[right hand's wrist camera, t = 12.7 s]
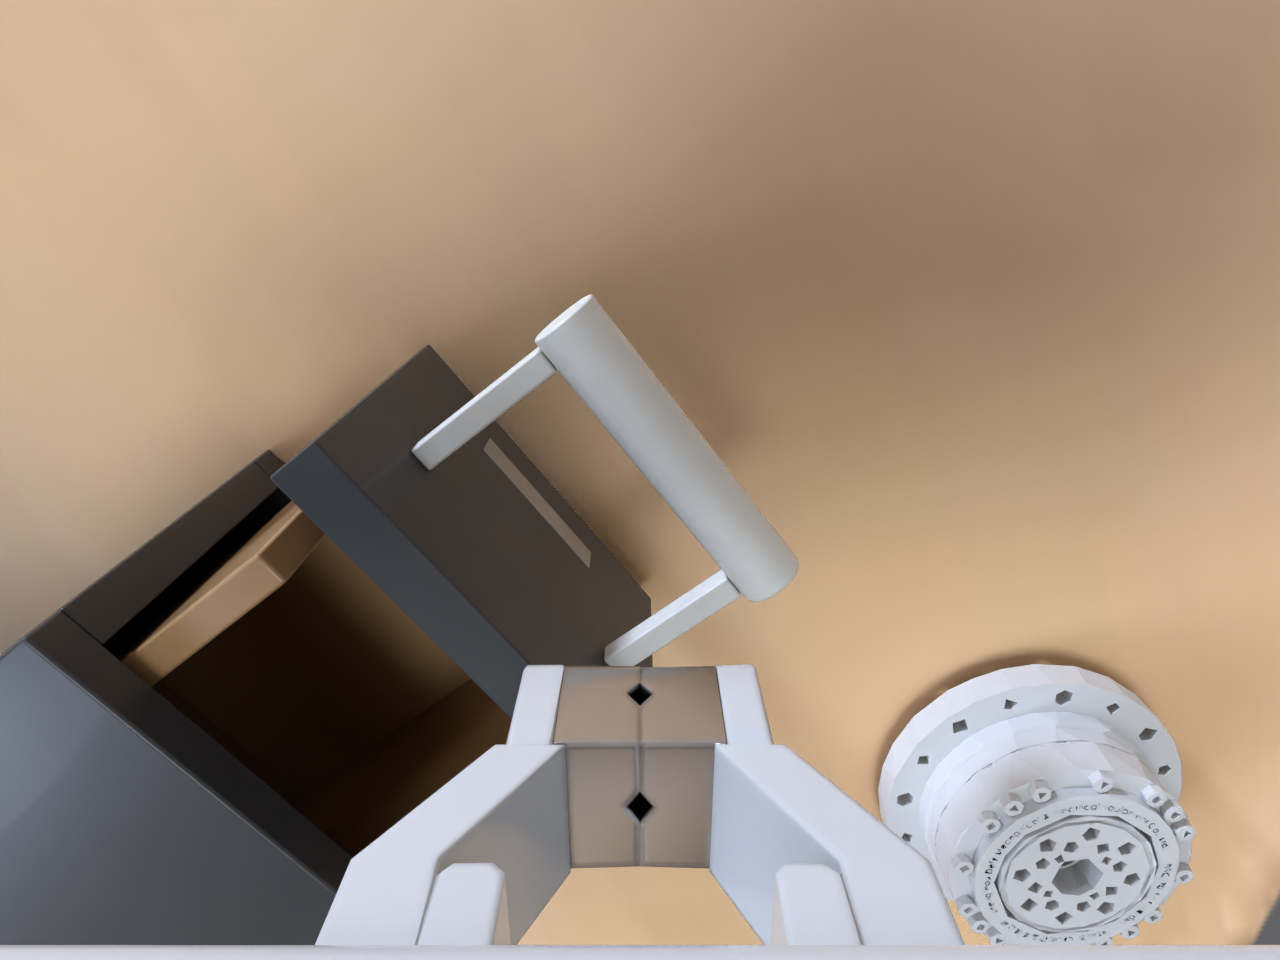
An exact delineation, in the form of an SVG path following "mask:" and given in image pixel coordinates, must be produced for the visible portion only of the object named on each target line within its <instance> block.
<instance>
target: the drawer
mask: <svg viewBox="0 0 1280 960" xmlns="http://www.w3.org/2000/svg"><path fill="white" fill-rule="evenodd" d="M535 343H536V344H537V346H538V347H537V348H536V349H535V350H534V351H532V352H531V353H530V354H529V355H527V356H526V357H525V358H524V359H522V360H521V361H520V362H519V363H517V364H516V365H515V366H513V367H512V368H511V369H510V370H508V371H507V372H506V373H505V374H503V375H502V376H501V377H500V378H498V379H497V380H496V381H495V382H493V383H492V384H491V385H489V386H488V387H487V388H486V389H484V390H483V391H482V392H481V393H479V394H478V395H477V396H476V397H474V396H473V394H472V393H471V392H470V391H469V390H468V389H467V388H466V386H465V385H464V384H463V383H462V382H461V381H460V379H459V378H458V377H457V376H456V375H455V374H454V373H453V371H452V370H451V369H450V368H449V367H448V366H447V365H446V363H445V362H444V361H443V360H442V359H441V358H440V357H439V355H438V354H437V353H436V352H435V351H434V350H433V349H432V347H431V346H430V345H426V346H425V347H424V348H423V349H422V350H420V351H419V352H418V353H417V354H416V355H414V356H413V357H412V358H411V359H410V360H408V361H407V362H406V363H405V364H403V365H402V366H401V367H400V368H399V369H397V370H396V371H395V372H394V373H393V374H391V375H390V376H389V377H388V378H387V379H386V380H384V381H383V382H382V383H381V384H380V385H378V386H377V387H376V388H375V389H374V390H372V391H371V392H370V393H369V394H368V395H366V396H365V397H364V398H363V399H362V400H361V401H359V402H358V403H357V404H356V405H355V406H353V407H352V408H351V409H350V410H349V411H347V412H346V413H345V414H344V415H343V416H342V417H340V418H339V419H338V420H337V421H336V422H334V423H333V424H332V425H331V426H330V427H328V428H327V429H326V430H325V431H324V432H322V433H321V434H320V435H319V436H318V437H317V438H315V439H314V440H313V441H312V442H311V443H309V444H308V445H307V446H306V447H305V448H303V449H302V450H301V451H300V452H299V453H298V454H296V455H295V456H294V457H293V458H292V459H290V460H289V461H288V462H287V463H286V464H284V465H283V466H282V467H281V468H280V469H278V470H277V471H276V472H275V473H274V474H273V475H271V477H270V479H271V481H272V482H273V483H274V484H276V485H277V486H278V487H279V488H280V489H281V490H282V491H283V492H284V493H285V494H286V495H287V496H288V497H289V498H290V499H291V500H292V501H291V502H290V503H288V504H287V505H286V506H285V507H283V508H282V509H281V510H280V511H278V512H277V513H276V514H275V515H273V516H272V517H271V518H270V519H268V520H267V521H266V522H265V523H264V524H262V525H261V526H260V527H259V528H257V529H256V530H255V531H254V532H252V533H251V534H250V535H249V536H247V537H246V538H245V539H244V540H242V541H241V542H240V543H239V544H238V545H236V546H235V547H234V548H233V549H231V550H230V551H229V552H228V553H226V554H225V555H224V556H223V557H221V558H220V559H219V560H218V561H216V562H215V563H214V564H213V565H212V566H210V567H209V568H208V569H207V570H205V571H204V572H203V573H202V574H200V575H199V576H198V577H197V578H195V579H194V580H193V581H192V582H190V583H189V584H188V585H187V586H185V587H184V588H183V589H182V590H181V591H179V592H178V593H177V594H176V595H174V596H173V597H172V598H171V599H169V600H168V601H167V602H166V603H164V604H163V605H162V606H161V607H159V608H158V609H157V610H156V611H155V612H153V613H152V614H151V615H150V616H148V617H147V618H146V619H145V620H143V621H142V622H141V623H140V624H138V625H137V626H136V627H135V628H133V629H132V630H131V631H130V632H129V633H127V634H126V635H125V636H124V637H122V638H121V639H120V640H119V641H117V642H116V643H115V644H114V645H113V646H112V647H111V648H110V649H109V650H108V651H109V652H111V653H112V654H113V655H114V656H115V657H116V658H118V659H119V660H120V661H121V662H122V663H124V664H125V665H126V666H127V667H128V668H130V669H131V670H132V671H133V672H134V673H135V674H137V675H138V676H139V677H140V678H141V679H143V680H144V681H145V682H146V683H147V684H148V685H150V686H151V687H152V688H153V689H154V690H156V691H157V692H158V693H159V694H160V695H162V696H163V697H164V698H165V699H166V700H167V701H169V702H170V703H171V704H172V705H173V706H175V707H176V708H177V709H178V710H179V711H180V712H182V713H183V714H184V715H185V716H186V717H188V718H189V719H190V720H191V721H192V722H194V723H195V724H196V725H197V726H198V727H199V728H201V729H202V730H203V731H204V732H205V733H207V734H208V735H209V736H210V737H211V738H213V739H214V740H215V741H216V742H217V743H218V744H220V745H221V746H222V747H223V748H224V749H226V750H227V751H228V752H229V753H230V754H231V755H233V756H234V757H235V758H236V759H237V760H239V761H240V762H241V763H242V764H243V765H245V766H246V767H247V768H248V769H249V770H250V771H252V772H253V773H254V774H255V775H256V776H258V777H259V778H260V779H261V780H262V781H263V782H265V783H266V784H267V785H268V786H269V787H271V788H272V789H273V790H274V791H275V792H277V793H278V794H279V795H280V796H281V797H282V798H284V799H285V800H286V801H287V802H288V803H290V804H291V805H292V806H293V807H294V808H296V809H297V810H298V811H299V812H300V813H301V814H303V815H304V816H305V817H306V818H307V819H309V820H310V821H311V822H312V823H313V824H314V825H316V826H317V827H318V828H319V829H320V830H322V831H323V832H324V833H325V834H326V835H328V836H329V837H330V838H331V839H332V840H333V841H335V842H336V843H337V844H338V845H339V846H341V847H342V848H343V849H344V850H345V851H346V852H348V853H349V854H350V855H351V856H352V857H355V856H356V855H357V854H358V853H360V852H361V851H362V850H364V849H365V848H366V847H367V846H369V845H370V844H371V843H372V842H374V841H375V840H376V839H377V838H379V837H380V836H381V835H382V834H384V833H385V832H386V831H387V830H389V829H390V828H391V827H392V826H394V825H395V824H396V823H397V822H399V821H400V820H401V819H402V818H404V817H405V816H406V815H407V814H409V813H410V812H411V811H412V810H414V809H415V808H416V807H417V806H419V805H420V804H421V803H422V802H424V801H425V800H426V799H428V798H429V797H430V796H431V795H433V794H434V793H435V792H436V791H438V790H439V789H440V788H441V787H443V786H444V785H445V784H446V783H448V782H449V781H450V780H451V779H453V778H454V777H455V776H456V775H458V774H459V773H460V772H461V771H463V770H464V769H465V768H466V767H468V766H469V765H470V764H471V763H473V762H474V761H475V760H476V759H478V758H479V757H480V756H481V755H483V754H484V753H485V752H486V751H488V750H489V749H490V748H492V747H493V746H494V745H506V743H507V739H508V734H509V730H510V726H511V722H512V717H513V713H514V709H515V705H516V700H517V696H518V692H519V687H520V683H521V679H522V675H523V671H524V669H525V668H526V667H527V665H564V666H566V665H590V666H638V667H640V668H645V667H652V654H653V653H655V652H656V651H658V650H659V649H661V648H662V647H664V646H665V645H667V644H668V643H670V642H672V641H673V640H675V639H676V638H678V637H679V636H681V635H682V634H684V633H685V632H687V631H688V630H690V629H691V628H693V627H694V626H696V625H698V624H699V623H701V622H702V621H704V620H705V619H707V618H708V617H710V616H711V615H713V614H714V613H716V612H717V611H719V610H721V609H722V608H724V607H725V606H727V605H728V604H730V603H731V602H733V601H734V600H736V599H737V598H739V597H740V592H741V594H742V595H743V596H744V597H745V598H746V599H747V600H749V601H752V602H758V601H763V600H766V599H768V598H770V597H772V596H774V595H776V594H777V593H779V592H780V591H781V590H783V589H784V588H785V587H786V586H787V585H788V584H789V583H790V582H791V581H792V579H793V578H794V576H795V575H796V573H797V571H798V567H799V562H798V558H797V557H796V555H795V554H794V553H793V552H792V550H791V549H790V548H789V546H788V545H787V544H786V543H785V541H784V540H783V539H782V537H781V536H780V535H779V534H778V532H777V531H776V530H775V528H774V527H773V526H772V525H771V523H770V522H769V521H768V519H767V518H766V517H765V516H764V514H763V513H762V512H761V511H760V509H759V508H758V507H757V505H756V504H755V503H754V502H753V500H752V499H751V498H750V496H749V495H748V494H747V493H746V491H745V490H744V489H743V487H742V486H741V485H740V484H739V482H738V481H737V480H736V478H735V477H734V476H733V475H732V473H731V472H730V471H729V469H728V468H727V467H726V466H725V464H724V463H723V462H722V460H721V459H720V458H719V457H718V455H717V454H716V453H715V451H714V450H713V449H712V448H711V446H710V445H709V444H708V442H707V441H706V440H705V439H704V437H703V436H702V435H701V433H700V432H699V431H698V430H697V428H696V427H695V426H694V425H693V423H692V422H691V421H690V419H689V418H688V417H687V416H686V414H685V413H684V412H683V410H682V409H681V408H680V407H679V405H678V404H677V403H676V401H675V400H674V399H673V398H672V396H671V395H670V394H669V392H668V391H667V390H666V389H665V387H664V386H663V385H662V383H661V382H660V381H659V380H658V378H657V377H656V376H655V374H654V373H653V372H652V371H651V369H650V368H649V367H648V365H647V364H646V363H645V362H644V360H643V359H642V358H641V356H640V355H639V354H638V353H637V351H636V350H635V349H634V348H633V346H632V345H631V344H630V342H629V341H628V340H627V339H626V337H625V336H624V335H623V333H622V332H621V331H620V330H619V328H618V327H617V326H616V324H615V323H614V322H613V321H612V319H611V318H610V317H609V315H608V314H607V313H606V312H605V310H604V309H603V308H602V306H601V305H600V304H599V303H598V301H597V300H596V299H595V297H594V296H593V295H591V294H590V295H587V296H585V297H584V298H582V299H580V300H579V301H578V302H576V303H575V304H574V305H572V306H571V307H570V308H568V309H567V310H566V311H564V312H563V313H562V314H561V315H560V316H558V317H557V318H556V319H555V320H554V321H552V322H551V323H550V324H549V325H548V326H547V327H546V328H545V329H544V330H542V331H541V332H540V333H539V335H538V336H537V337H536V339H535ZM556 370H558V371H559V372H560V374H561V375H562V376H563V377H564V378H565V380H566V381H567V382H568V383H569V385H570V386H571V387H572V388H573V389H574V391H575V392H576V393H577V394H578V396H579V397H580V398H581V399H582V400H583V402H584V403H585V404H586V405H587V406H588V408H589V409H590V410H591V411H592V413H593V414H594V415H595V416H596V417H597V419H598V420H599V421H600V422H601V423H602V425H603V426H604V427H605V428H606V430H607V431H608V432H609V433H610V434H611V436H612V437H613V438H614V439H615V440H616V442H617V443H618V444H619V445H620V447H621V448H622V449H623V450H624V451H625V453H626V454H627V455H628V456H629V458H630V459H631V460H632V461H633V462H634V464H635V465H636V466H637V467H638V468H639V470H640V471H641V472H642V473H643V475H644V476H645V477H646V478H647V479H648V481H649V482H650V483H651V484H652V485H653V487H654V488H655V489H656V490H657V492H658V493H659V494H660V495H661V496H662V498H663V499H664V500H665V501H666V503H667V504H668V505H669V506H670V507H671V509H672V510H673V511H674V512H675V513H676V515H677V516H678V517H679V518H680V520H681V521H682V522H683V523H684V524H685V526H686V527H687V528H688V529H689V530H690V532H691V533H692V534H693V535H694V537H695V538H696V539H697V540H698V541H699V543H700V544H701V545H702V546H703V547H704V549H705V550H706V551H707V552H708V554H709V555H710V556H711V557H712V558H713V560H714V561H715V562H716V563H717V565H718V566H719V567H720V568H721V570H720V571H718V572H717V573H715V574H714V575H712V576H711V577H709V578H708V579H706V580H705V581H703V582H702V583H700V584H699V585H697V586H696V587H694V588H693V589H691V590H690V591H688V592H687V593H685V594H684V595H682V596H681V597H679V598H678V599H676V600H675V601H673V602H672V603H670V604H669V605H667V606H666V607H664V608H663V609H661V610H660V611H658V612H657V613H655V614H654V615H652V616H651V599H650V597H649V596H648V595H647V594H646V593H645V592H644V591H643V589H642V588H641V587H640V586H639V585H638V584H637V582H636V581H635V580H634V579H633V578H632V577H631V576H630V574H629V573H628V572H627V571H626V570H625V569H624V568H623V566H622V565H621V564H620V563H619V562H618V561H617V560H616V558H615V557H614V556H613V555H612V554H611V553H610V552H609V550H608V549H607V548H606V547H605V546H604V545H603V543H602V542H601V541H600V540H599V539H598V538H597V537H596V535H595V534H594V533H593V532H592V531H591V530H590V529H589V527H588V526H587V525H586V524H585V523H584V522H583V521H582V519H581V518H580V517H579V516H578V515H577V514H576V513H575V511H574V510H573V509H572V508H571V507H570V506H569V504H568V503H567V502H566V501H565V500H564V499H563V498H562V496H561V495H560V494H559V493H558V492H557V491H556V490H555V488H554V487H553V486H552V485H551V484H550V483H549V482H548V480H547V479H546V478H545V477H544V476H543V475H542V474H541V472H540V471H539V470H538V469H537V468H536V467H535V465H534V464H533V463H532V462H531V461H530V460H529V459H528V457H527V456H526V455H525V454H524V453H523V452H522V451H521V449H520V448H519V447H518V446H517V445H516V444H515V443H514V441H513V440H512V439H511V438H510V437H509V436H508V435H507V433H506V432H505V431H504V430H503V429H502V428H501V427H500V425H499V424H498V423H497V422H496V421H495V420H496V419H497V418H498V417H500V416H501V415H502V414H504V413H505V412H506V411H507V410H509V409H510V408H511V407H513V406H514V405H515V404H516V403H518V402H519V401H520V400H522V399H523V398H524V397H525V396H527V395H528V394H529V393H531V392H532V391H533V390H534V389H536V388H537V387H538V386H540V385H541V384H542V383H543V382H545V381H546V380H547V379H549V378H550V377H551V376H552V375H554V374H555V372H556ZM739 591H740V592H739Z"/></svg>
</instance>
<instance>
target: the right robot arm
mask: <svg viewBox="0 0 1280 960" xmlns="http://www.w3.org/2000/svg"><path fill="white" fill-rule="evenodd" d="M632 866H646V867H681V868H710V873H711V874H712V875H713V877H714V878H715V879H716V881H717V882H718V883H719V885H720V886H721V887H722V889H723V890H724V892H725V893H726V894H727V896H728V897H729V898H730V900H731V901H732V902H733V904H734V905H735V906H736V908H737V909H738V910H739V912H740V913H741V915H742V916H743V917H744V919H745V920H746V921H747V923H748V924H749V925H750V927H751V928H752V929H753V931H754V932H755V933H756V935H757V936H758V937H759V939H760V940H761V942H762V943H763V944H764V945H517V943H518V942H519V941H520V939H521V938H522V937H523V935H524V934H525V933H526V931H527V930H528V929H529V927H530V926H531V925H532V923H533V922H534V921H535V919H536V918H537V917H538V915H539V914H540V912H541V911H542V910H543V908H544V907H545V906H546V904H547V903H548V902H549V900H550V899H551V898H552V896H553V895H554V894H555V892H556V891H557V890H558V888H559V887H560V886H561V884H562V883H563V882H564V880H565V879H566V878H567V876H568V875H569V874H570V868H598V867H632ZM0 960H1280V945H965V943H964V941H963V939H962V936H961V934H960V931H959V929H958V927H957V924H956V922H955V919H954V917H953V915H952V912H951V910H950V907H949V905H948V903H947V900H946V898H945V895H944V893H943V891H942V888H941V886H940V884H939V881H938V879H937V876H936V874H935V872H934V869H933V867H932V864H931V862H930V860H928V859H927V858H926V857H925V856H923V855H922V854H921V853H920V852H918V851H917V850H916V849H915V848H913V847H912V846H911V845H910V844H908V843H907V842H906V841H905V840H903V839H902V838H901V837H900V836H898V835H897V834H896V833H895V832H893V831H892V830H891V829H890V828H888V827H887V826H886V825H885V824H883V823H882V822H881V821H880V820H878V819H877V818H876V817H875V816H873V815H872V814H871V813H870V812H868V811H867V810H866V809H865V808H863V807H862V806H861V805H860V804H858V803H857V802H856V801H855V800H853V799H852V798H851V797H850V796H848V795H847V794H846V793H845V792H843V791H842V790H841V789H840V788H838V787H837V786H836V785H835V784H834V783H832V782H831V781H830V780H829V779H827V778H826V777H825V776H824V775H822V774H821V773H820V772H819V771H817V770H816V769H815V768H814V767H812V766H811V765H810V764H809V763H807V762H806V761H805V760H804V759H802V758H801V757H800V756H799V755H797V754H796V753H795V752H794V751H792V750H791V749H790V748H789V747H787V746H786V745H774V743H773V739H772V735H771V730H770V726H769V722H768V718H767V714H766V709H765V705H764V701H763V697H762V692H761V688H760V684H759V680H758V675H757V671H756V668H755V667H754V666H753V665H752V664H746V665H718V666H701V667H645V668H640V667H638V666H590V665H566V666H564V665H527V667H526V668H525V669H524V671H523V675H522V679H521V683H520V687H519V692H518V696H517V700H516V705H515V709H514V713H513V717H512V722H511V726H510V730H509V734H508V739H507V743H506V745H494V746H493V747H492V748H490V749H489V750H488V751H486V752H485V753H484V754H483V755H481V756H480V757H479V758H478V759H476V760H475V761H474V762H473V763H471V764H470V765H469V766H468V767H466V768H465V769H464V770H463V771H461V772H460V773H459V774H458V775H456V776H455V777H454V778H453V779H451V780H450V781H449V782H448V783H446V784H445V785H444V786H443V787H441V788H440V789H439V790H438V791H436V792H435V793H434V794H433V795H431V796H430V797H429V798H428V799H426V800H425V801H424V802H422V803H421V804H420V805H419V806H417V807H416V808H415V809H414V810H412V811H411V812H410V813H409V814H407V815H406V816H405V817H404V818H402V819H401V820H400V821H399V822H397V823H396V824H395V825H394V826H392V827H391V828H390V829H389V830H387V831H386V832H385V833H384V834H382V835H381V836H380V837H379V838H377V839H376V840H375V841H374V842H372V843H371V844H370V845H369V846H367V847H366V848H365V849H364V850H362V851H361V852H360V853H358V854H357V855H356V856H355V857H353V858H352V859H351V861H350V863H349V865H348V868H347V870H346V872H345V875H344V877H343V880H342V882H341V884H340V887H339V889H338V891H337V894H336V896H335V898H334V901H333V903H332V905H331V908H330V910H329V913H328V915H327V917H326V920H325V922H324V924H323V927H322V929H321V931H320V934H319V936H318V938H317V941H316V943H315V945H0Z"/></svg>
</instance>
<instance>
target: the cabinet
mask: <svg viewBox="0 0 1280 960" xmlns="http://www.w3.org/2000/svg"><path fill="white" fill-rule="evenodd" d="M282 466H283V464H282V463H281V462H280V460H279V459H278V458H277V457H276V456H275V455H274V454H273V453H272V452H271V451H269V450H267V451H265V452H264V453H263V454H262V455H260V456H259V457H258V458H256V459H255V460H254V461H252V462H251V463H250V464H248V465H247V466H246V467H245V468H243V469H242V470H241V471H239V472H238V473H237V474H235V475H234V476H233V477H231V478H230V479H229V480H227V481H226V482H225V483H224V484H222V485H221V486H220V487H218V488H217V489H216V490H214V491H213V492H212V493H210V494H209V495H208V496H207V497H205V498H204V499H203V500H201V501H200V502H199V503H197V504H196V505H195V506H193V507H192V508H191V509H189V510H188V511H187V512H186V513H184V514H183V515H182V516H180V517H179V518H178V519H176V520H175V521H174V522H172V523H171V524H170V525H169V526H167V527H166V528H165V529H163V530H162V531H161V532H159V533H158V534H157V535H155V536H154V537H153V538H152V539H150V540H149V541H148V542H146V543H145V544H144V545H142V546H141V547H140V548H138V549H137V550H136V551H134V552H133V553H132V554H131V555H129V556H128V557H127V558H125V559H124V560H123V561H121V562H120V563H119V564H117V565H116V566H115V567H114V568H112V569H111V570H110V571H108V572H107V573H106V574H104V575H103V576H102V577H100V578H99V579H98V580H96V581H95V582H94V583H93V584H91V585H90V586H89V587H87V588H86V589H85V590H83V591H82V592H81V593H79V594H78V595H77V596H76V597H74V598H73V599H72V600H70V601H69V602H68V603H66V604H65V605H64V606H62V607H61V608H60V609H59V610H58V611H56V612H55V613H53V614H52V615H51V616H49V617H48V618H47V619H46V620H44V621H43V622H42V623H40V624H39V625H38V626H36V627H35V628H34V629H32V630H31V631H30V632H28V633H27V634H26V635H25V636H23V637H22V638H21V639H20V640H18V641H17V642H16V643H15V644H14V645H13V646H11V647H10V648H9V649H8V650H7V651H5V652H4V653H3V654H2V655H1V656H0V945H315V943H316V941H317V938H318V936H319V934H320V931H321V929H322V927H323V924H324V922H325V920H326V917H327V915H328V913H329V910H330V908H331V905H332V903H333V901H334V898H335V896H336V894H337V891H338V889H339V887H340V884H341V882H342V880H343V877H344V875H345V872H346V870H347V868H348V865H349V863H350V861H351V859H352V858H353V857H352V856H351V855H350V854H349V853H348V852H346V851H345V850H344V849H343V848H342V847H341V846H339V845H338V844H337V843H336V842H335V841H333V840H332V839H331V838H330V837H329V836H328V835H326V834H325V833H324V832H323V831H322V830H320V829H319V828H318V827H317V826H316V825H314V824H313V823H312V822H311V821H310V820H309V819H307V818H306V817H305V816H304V815H303V814H301V813H300V812H299V811H298V810H297V809H296V808H294V807H293V806H292V805H291V804H290V803H288V802H287V801H286V800H285V799H284V798H282V797H281V796H280V795H279V794H278V793H277V792H275V791H274V790H273V789H272V788H271V787H269V786H268V785H267V784H266V783H265V782H263V781H262V780H261V779H260V778H259V777H258V776H256V775H255V774H254V773H253V772H252V771H250V770H249V769H248V768H247V767H246V766H245V765H243V764H242V763H241V762H240V761H239V760H237V759H236V758H235V757H234V756H233V755H231V754H230V753H229V752H228V751H227V750H226V749H224V748H223V747H222V746H221V745H220V744H218V743H217V742H216V741H215V740H214V739H213V738H211V737H210V736H209V735H208V734H207V733H205V732H204V731H203V730H202V729H201V728H199V727H198V726H197V725H196V724H195V723H194V722H192V721H191V720H190V719H189V718H188V717H186V716H185V715H184V714H183V713H182V712H180V711H179V710H178V709H177V708H176V707H175V706H173V705H172V704H171V703H170V702H169V701H167V700H166V699H165V698H164V697H163V696H162V695H160V694H159V693H158V692H157V691H156V690H154V689H153V688H152V687H151V686H150V685H148V684H147V683H146V682H145V681H144V680H143V679H141V678H140V677H139V676H138V675H137V674H135V673H134V672H133V671H132V670H131V669H130V668H128V667H127V666H126V665H125V664H124V663H122V662H121V661H120V660H119V659H118V658H116V657H115V656H114V655H113V654H112V653H111V652H109V651H108V650H109V649H110V648H111V647H112V646H113V645H114V644H115V643H116V642H117V641H119V640H120V639H121V638H122V637H124V636H125V635H126V634H127V633H129V632H130V631H131V630H132V629H133V628H135V627H136V626H137V625H138V624H140V623H141V622H142V621H143V620H145V619H146V618H147V617H148V616H150V615H151V614H152V613H153V612H155V611H156V610H157V609H158V608H159V607H161V606H162V605H163V604H164V603H166V602H167V601H168V600H169V599H171V598H172V597H173V596H174V595H176V594H177V593H178V592H179V591H181V590H182V589H183V588H184V587H185V586H187V585H188V584H189V583H190V582H192V581H193V580H194V579H195V578H197V577H198V576H199V575H200V574H202V573H203V572H204V571H205V570H207V569H208V568H209V567H210V566H212V565H213V564H214V563H215V562H216V561H218V560H219V559H220V558H221V557H223V556H224V555H225V554H226V553H228V552H229V551H230V550H231V549H233V548H234V547H235V546H236V545H238V544H239V543H240V542H241V541H242V540H244V539H245V538H246V537H247V536H249V535H250V534H251V533H252V532H254V531H255V530H256V529H257V528H259V527H260V526H261V525H262V524H264V523H265V522H266V521H267V520H268V519H270V518H271V517H272V516H273V515H275V514H276V513H277V512H278V511H280V510H281V509H282V508H283V507H285V506H286V505H287V504H288V503H290V502H291V501H292V500H291V499H290V498H289V497H288V496H287V495H286V494H285V493H284V492H283V491H282V490H281V489H280V488H279V487H278V486H277V485H276V484H274V483H273V482H272V481H271V479H270V477H271V475H273V474H274V473H275V472H276V471H277V470H278V469H280V468H281V467H282Z"/></svg>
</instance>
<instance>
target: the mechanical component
mask: <svg viewBox="0 0 1280 960" xmlns="http://www.w3.org/2000/svg"><path fill="white" fill-rule="evenodd" d="M1181 789H1182V770H1181V761H1180V758H1179V755H1178V752H1177V748H1176V745H1175V742H1174V740H1173V739H1172V738H1171V736H1170V735H1169V733H1168V732H1167V731H1166V729H1165V728H1164V726H1163V725H1162V723H1161V722H1160V721H1159V719H1158V718H1157V716H1156V715H1155V714H1154V713H1153V712H1152V711H1151V710H1150V709H1149V708H1148V707H1147V706H1146V705H1145V704H1144V703H1143V702H1142V701H1141V700H1140V699H1139V697H1138V696H1137V695H1136V694H1134V693H1132V692H1131V691H1129V690H1128V689H1126V688H1125V687H1123V686H1122V685H1120V684H1119V683H1117V682H1115V681H1114V680H1112V679H1111V678H1109V677H1107V676H1104V675H1101V674H1098V673H1095V672H1092V671H1089V670H1085V669H1082V668H1079V667H1076V666H1062V665H1043V664H1032V665H1025V666H1018V667H1012V668H1005V669H1000V670H997V671H994V672H991V673H988V674H985V675H982V676H979V677H976V678H973V679H971V680H969V681H966V682H964V683H962V684H960V685H958V686H956V687H954V688H952V689H950V690H948V691H946V692H945V693H944V694H942V695H941V696H940V697H938V698H937V699H936V700H934V701H933V702H932V703H930V704H929V705H928V706H927V707H925V708H924V709H923V710H921V711H920V712H919V713H917V714H916V715H915V716H914V717H913V718H912V719H911V721H910V722H909V723H908V725H907V726H906V727H905V729H904V730H903V731H902V732H901V734H900V735H899V736H898V738H897V739H896V740H895V742H894V743H893V745H892V747H891V749H890V751H889V753H888V756H887V758H886V760H885V762H884V764H883V767H882V772H881V777H880V783H879V788H878V794H879V805H880V814H881V817H882V820H883V823H884V824H885V825H886V826H887V827H888V828H890V829H891V830H892V831H893V832H895V833H896V834H897V835H898V836H900V837H901V838H902V839H903V840H905V841H906V842H907V843H908V844H910V845H911V846H912V847H913V848H915V849H916V850H917V851H918V852H920V853H921V854H922V855H923V856H925V857H926V858H927V859H928V860H930V862H931V864H932V867H933V869H934V872H935V874H936V876H937V879H938V881H939V884H940V886H941V888H942V891H943V893H944V895H945V898H946V899H947V900H950V901H953V902H955V904H956V906H957V909H958V912H959V914H960V915H962V916H963V917H964V918H965V919H967V920H968V924H969V925H970V927H971V929H972V930H973V932H974V933H978V934H980V933H983V934H985V935H987V937H988V939H989V942H990V944H991V945H1004V944H1006V945H1088V944H1091V943H1093V944H1094V945H1113V940H1112V938H1111V937H1113V936H1115V935H1118V934H1121V936H1122V937H1123V938H1126V939H1132V938H1135V937H1136V936H1138V935H1139V931H1140V929H1139V927H1138V926H1137V924H1139V923H1140V922H1141V921H1142V920H1145V921H1146V922H1147V923H1157V922H1158V921H1160V920H1161V919H1162V917H1163V915H1162V912H1161V911H1160V909H1159V907H1161V906H1162V905H1163V904H1165V902H1166V901H1167V900H1168V898H1169V897H1170V896H1171V894H1172V893H1173V891H1174V890H1175V889H1176V887H1177V886H1178V885H1179V883H1181V884H1185V883H1187V882H1189V881H1191V880H1192V879H1193V873H1192V871H1191V869H1190V867H1189V866H1188V864H1189V861H1190V859H1191V849H1192V838H1193V837H1194V835H1195V834H1196V831H1195V830H1194V828H1193V827H1192V826H1191V824H1190V823H1189V821H1188V816H1187V814H1186V813H1185V812H1184V810H1183V808H1182V807H1181V805H1180V804H1179V803H1178V800H1179V796H1180V793H1181Z"/></svg>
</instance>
